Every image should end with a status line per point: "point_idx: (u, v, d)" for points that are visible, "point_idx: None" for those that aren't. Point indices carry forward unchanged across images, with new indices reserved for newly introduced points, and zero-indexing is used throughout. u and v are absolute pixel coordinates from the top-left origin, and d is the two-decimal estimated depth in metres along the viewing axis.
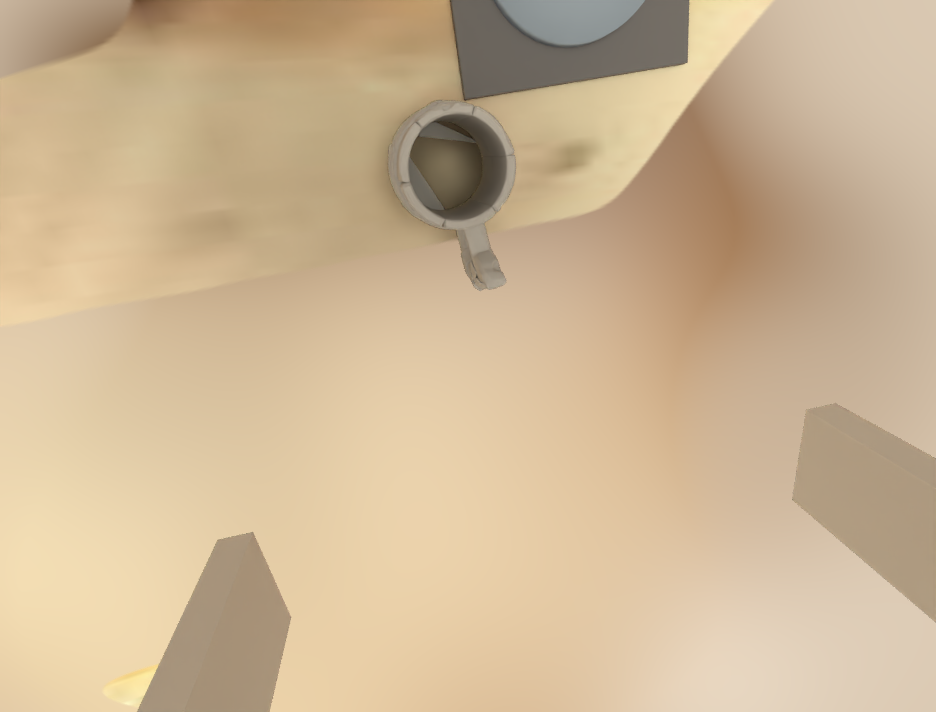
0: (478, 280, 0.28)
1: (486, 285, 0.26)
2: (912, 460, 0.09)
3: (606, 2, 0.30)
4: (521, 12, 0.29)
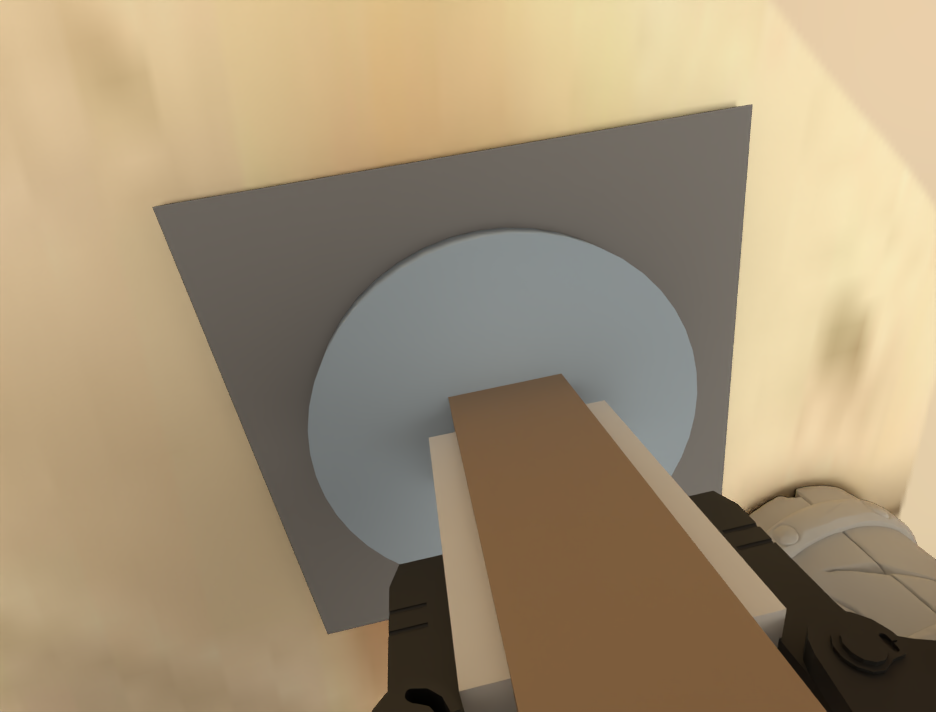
0: None
1: None
2: (625, 447, 0.11)
3: (636, 359, 0.14)
4: None
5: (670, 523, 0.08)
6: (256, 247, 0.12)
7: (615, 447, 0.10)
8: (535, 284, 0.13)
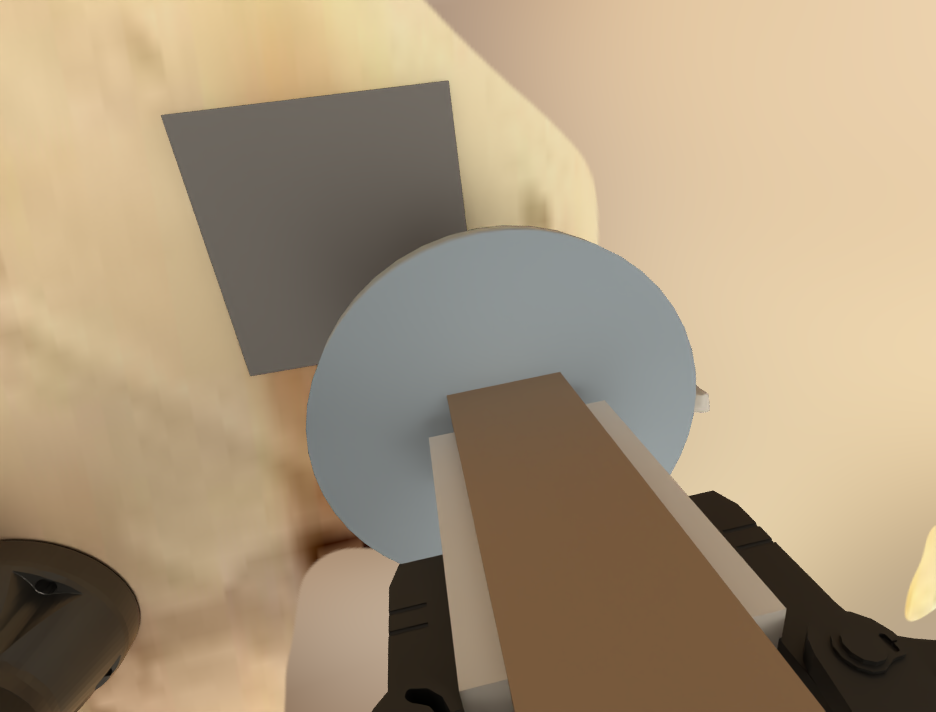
0: None
1: (704, 411, 0.25)
2: (625, 447, 0.11)
3: (634, 357, 0.14)
4: None
5: (667, 521, 0.08)
6: (209, 138, 0.26)
7: (613, 445, 0.10)
8: (533, 282, 0.13)
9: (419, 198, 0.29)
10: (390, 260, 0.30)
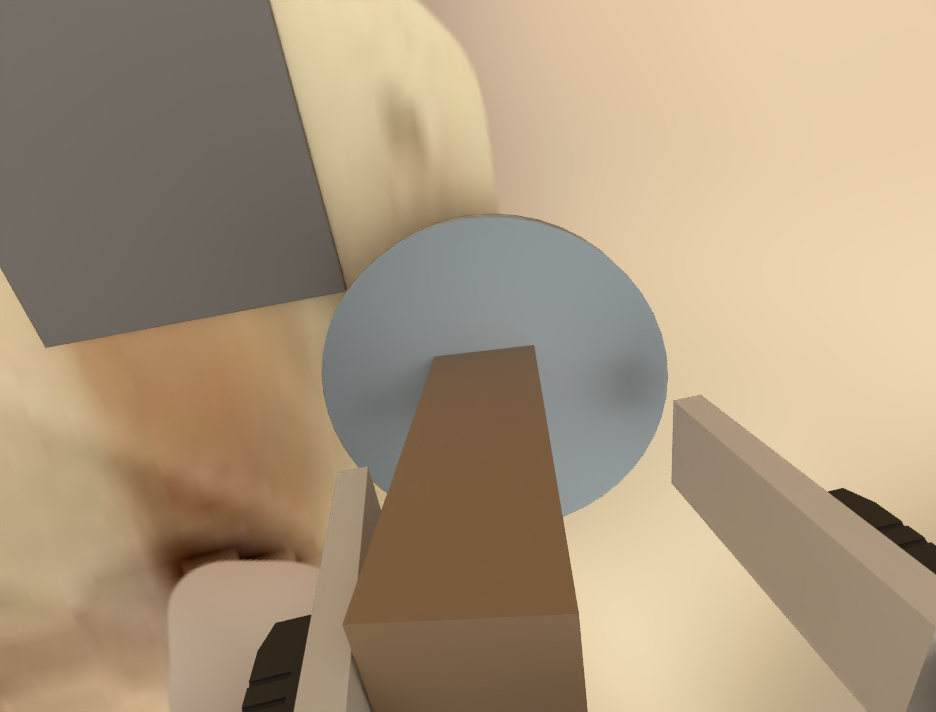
0: None
1: None
2: (742, 443, 0.10)
3: (604, 338, 0.15)
4: (607, 476, 0.17)
5: (545, 453, 0.10)
6: None
7: (540, 400, 0.12)
8: (509, 263, 0.15)
9: (233, 100, 0.22)
10: (207, 188, 0.23)
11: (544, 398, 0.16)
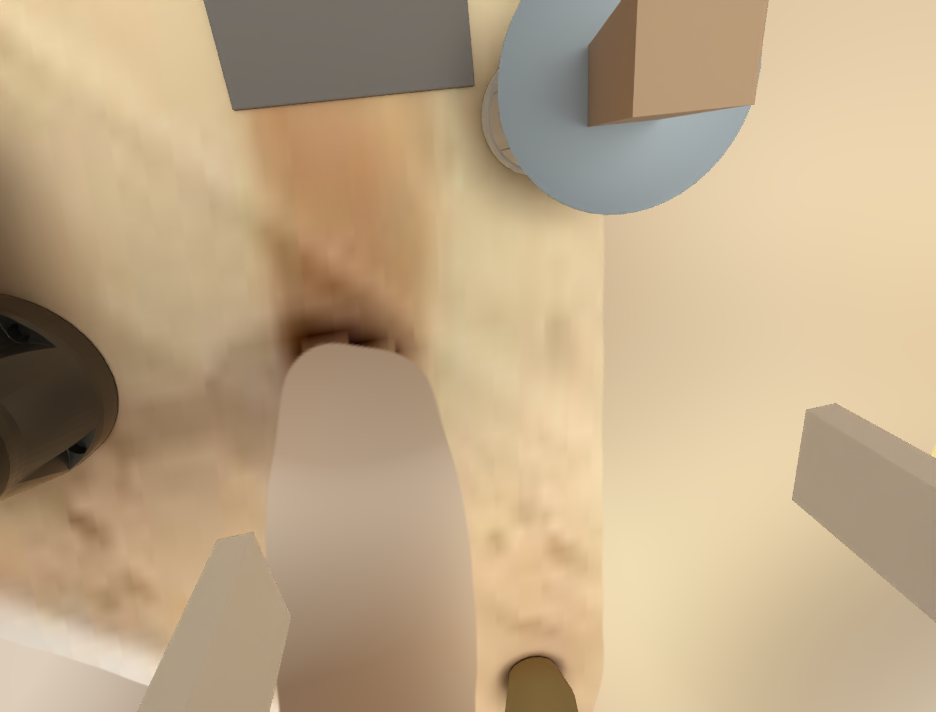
0: None
1: None
2: (912, 460, 0.09)
3: None
4: (701, 164, 0.23)
5: None
6: None
7: None
8: None
9: None
10: None
11: None
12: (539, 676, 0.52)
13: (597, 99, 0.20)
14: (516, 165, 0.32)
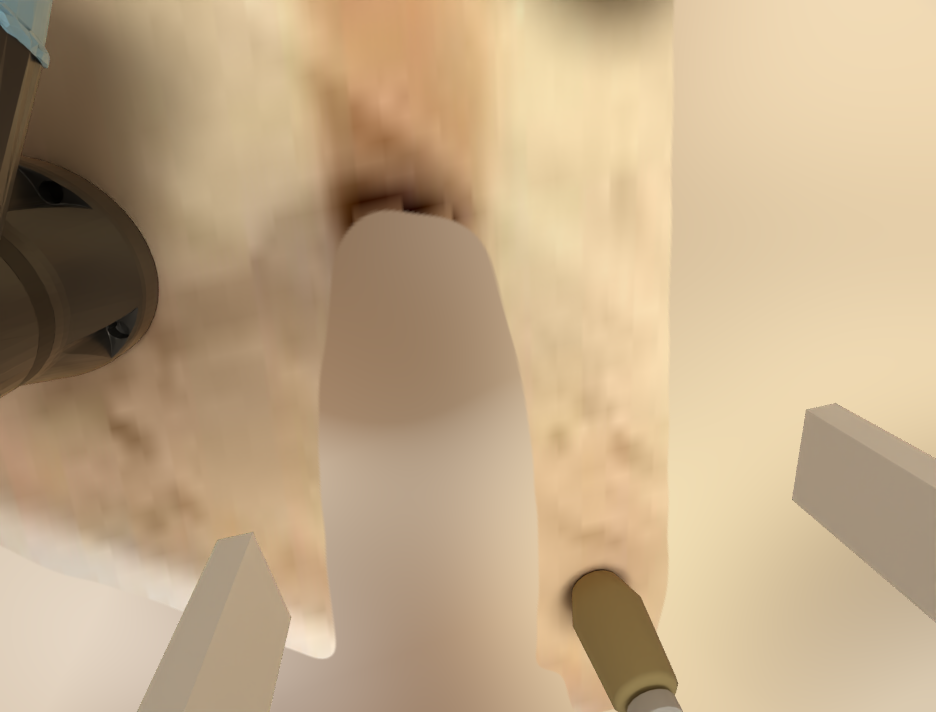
0: None
1: None
2: (912, 460, 0.09)
3: None
4: None
5: None
6: None
7: None
8: None
9: None
10: None
11: None
12: (607, 585, 0.50)
13: None
14: None
